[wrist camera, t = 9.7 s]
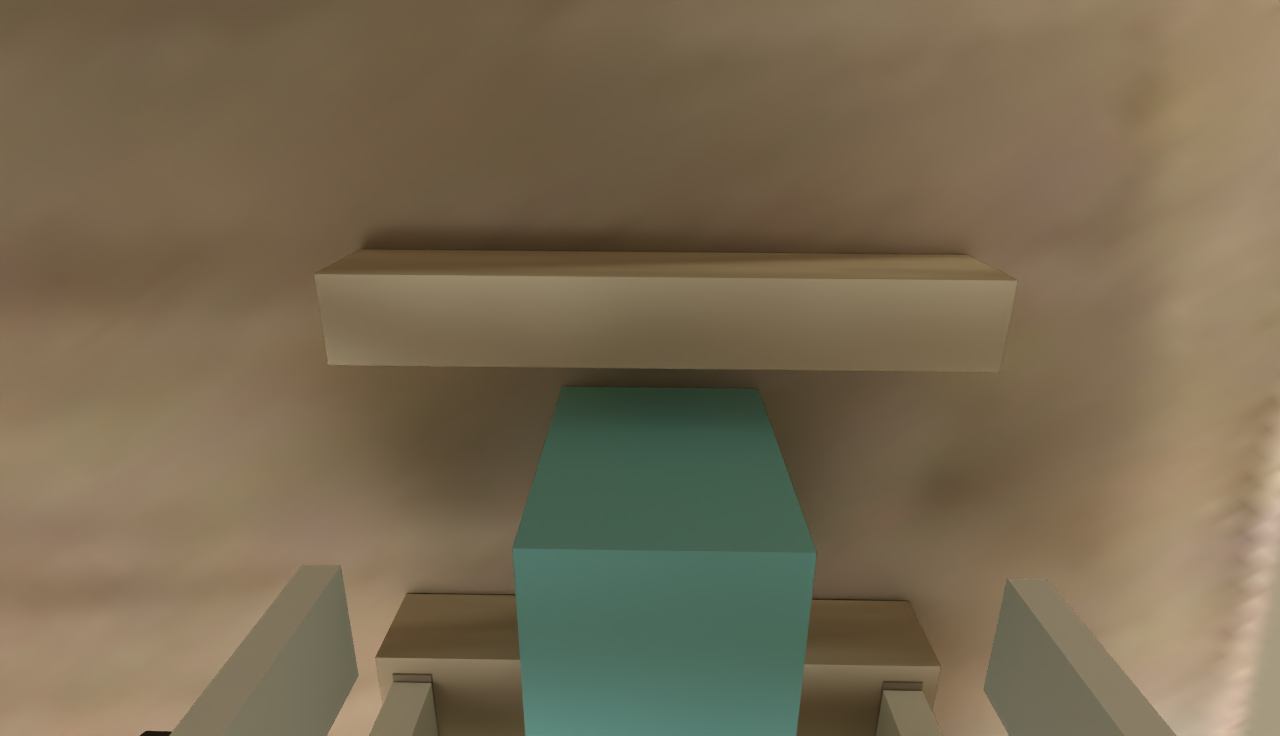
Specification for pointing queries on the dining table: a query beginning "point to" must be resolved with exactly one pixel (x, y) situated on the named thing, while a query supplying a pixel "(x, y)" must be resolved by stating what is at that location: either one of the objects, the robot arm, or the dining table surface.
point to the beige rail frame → (661, 339)
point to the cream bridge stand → (412, 731)
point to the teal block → (662, 569)
